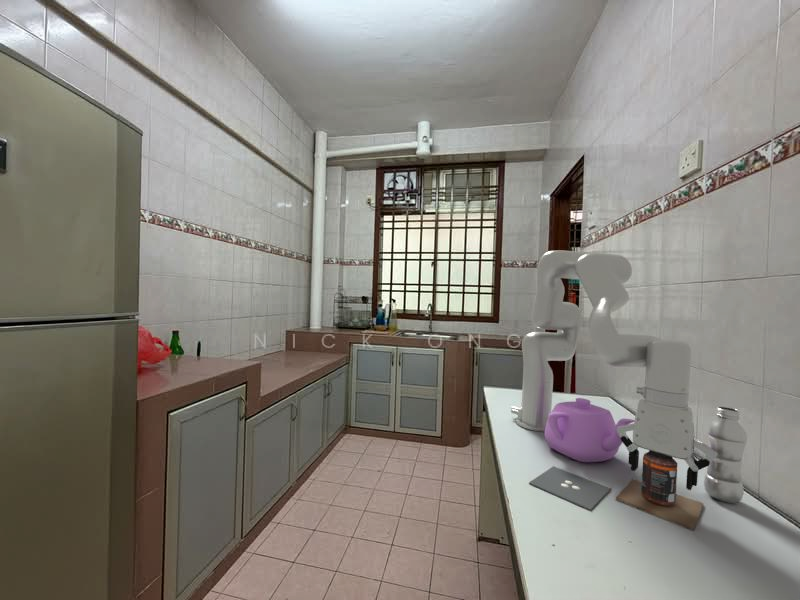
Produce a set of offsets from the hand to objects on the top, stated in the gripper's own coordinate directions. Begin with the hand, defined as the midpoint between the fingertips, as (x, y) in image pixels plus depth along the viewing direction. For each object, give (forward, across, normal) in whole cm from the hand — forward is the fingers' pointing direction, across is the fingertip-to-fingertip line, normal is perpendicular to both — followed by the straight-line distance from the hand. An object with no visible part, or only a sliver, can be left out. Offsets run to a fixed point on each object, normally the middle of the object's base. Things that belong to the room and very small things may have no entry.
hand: (660, 477), depth 76 cm
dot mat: (+5, -15, -9) cm, 18 cm away
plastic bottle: (+6, +9, +14) cm, 18 cm away
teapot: (+6, -20, +13) cm, 25 cm away
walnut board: (+5, 0, 0) cm, 5 cm away
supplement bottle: (+5, 0, 0) cm, 5 cm away
